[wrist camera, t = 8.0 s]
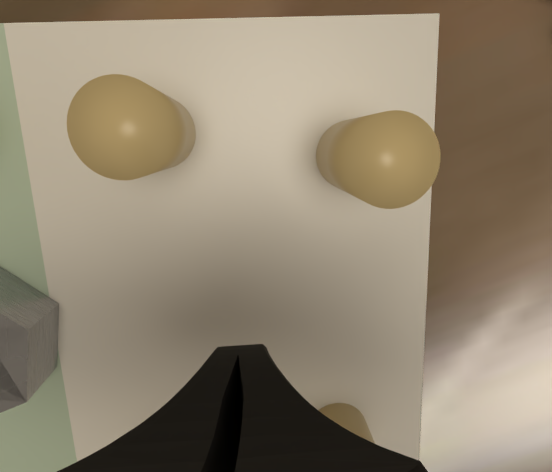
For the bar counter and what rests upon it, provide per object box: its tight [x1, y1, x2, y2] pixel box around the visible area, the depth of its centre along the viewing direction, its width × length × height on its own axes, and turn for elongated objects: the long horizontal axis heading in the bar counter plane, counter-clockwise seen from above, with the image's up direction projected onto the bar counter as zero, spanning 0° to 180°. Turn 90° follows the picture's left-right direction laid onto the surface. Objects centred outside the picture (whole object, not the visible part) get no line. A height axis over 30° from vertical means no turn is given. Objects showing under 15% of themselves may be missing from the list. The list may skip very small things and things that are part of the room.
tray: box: [0, 14, 440, 472], centre depth 14 cm, size 18×20×6 cm
